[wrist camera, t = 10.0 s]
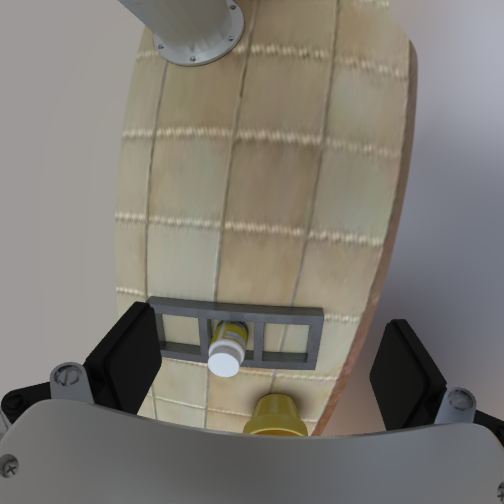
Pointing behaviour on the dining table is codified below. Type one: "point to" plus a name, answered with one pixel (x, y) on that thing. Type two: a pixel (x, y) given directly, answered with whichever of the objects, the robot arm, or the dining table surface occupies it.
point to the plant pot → (276, 417)
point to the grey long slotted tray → (243, 314)
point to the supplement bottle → (228, 348)
